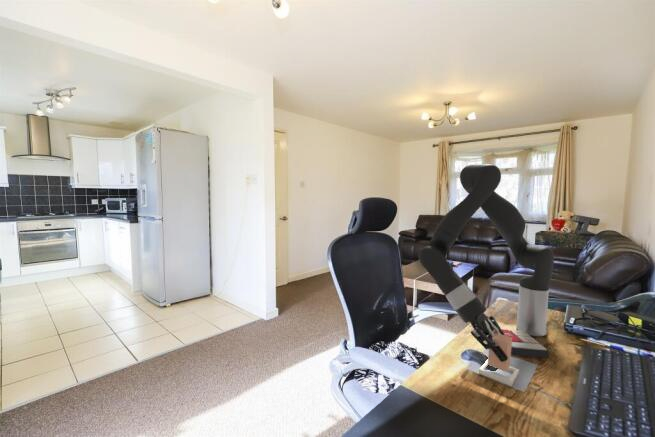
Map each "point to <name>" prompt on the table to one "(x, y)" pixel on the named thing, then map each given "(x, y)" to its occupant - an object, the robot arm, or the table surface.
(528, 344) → the calculator
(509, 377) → the build board
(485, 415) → the table surface
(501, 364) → the pillar block
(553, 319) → the table surface
